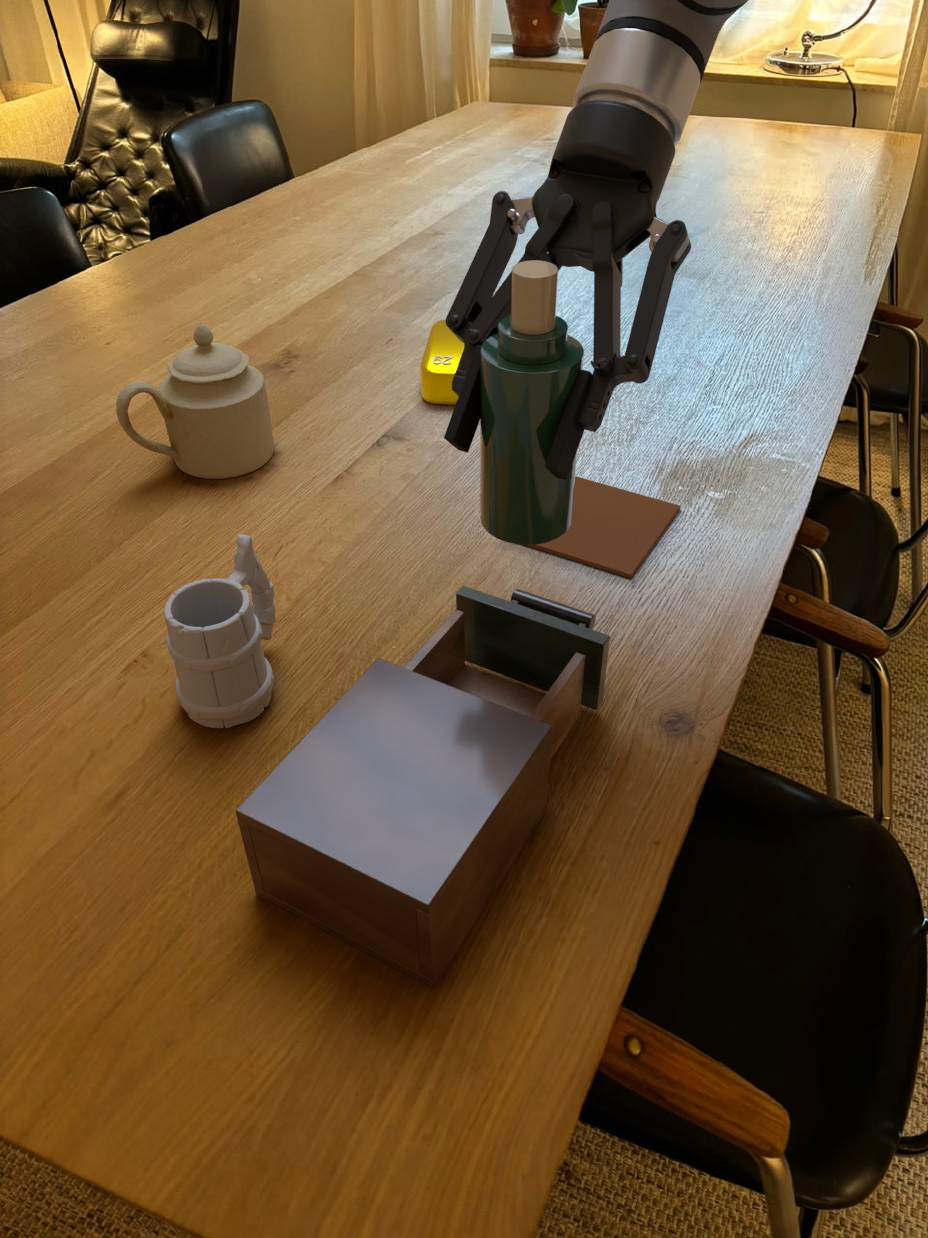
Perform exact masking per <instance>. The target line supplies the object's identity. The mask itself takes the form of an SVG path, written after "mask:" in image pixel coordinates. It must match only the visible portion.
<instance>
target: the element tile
mask: <svg viewBox="0 0 928 1238" xmlns="http://www.w3.org/2000/svg"><path fill="white" fill-rule="evenodd" d="M463 350H464V343H463V342H461V341H460V340H459V339H458V338H457V337H456V336H455V335H454V333H453V332H452V331H451V330H450V329H449V328H448V327H447V325H446V319H440V320H437V321H436V322H435V323H433V324H432V326H431V328H430V331H429V335H428V338H427V342H426V345H425V348H424V350H423V351H424V352H423V355H422V359H421V362H420V365H419V370H420V371H419V372H420V394H421V398H422V399H423V400H424V401H425V402H427V403H429V404H434V405H445V406H446V405H447V406H449V405H450V406H455V405H456V402H457V400H458V397H459V396H458V395H457V394H456V393H455V392H454V391H453V390H452V381H453V378H454V375H455V372H456V369H457V367H458V364H459V361H460V358H461V356H462V353H463Z"/></svg>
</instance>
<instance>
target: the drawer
mask: <svg viewBox="0 0 928 1238" xmlns="http://www.w3.org/2000/svg"><path fill="white" fill-rule="evenodd" d="M596 619H597V616H596V615H595V614H594V613H591V612H588V611H585V610H582V609H579V608H576V607H573V606H570V605H567V604H564V603H561V602H559V601H555V600H553V599H549V598H546V597H544V596H540V595H537V594H534V593H532V592H528V591H526V590H522V589H520V588H515V589H514V590H513V592H512V593H511V597H510V600H506V599H504V598H501V597H498V596H495V595H492V594H489V593H488V592H487V593H486V592H484V591H481V590H477V589H475V588H472V587H469V586H466V585H462V586H461V587H460V588H459V589H458V590H457V592H456V593H455V609H454V610H453V612H452V613H451V614H450V615H449V616H448V617H447V618H446V619H445V620H444V621H443V622H442V624H441V625H440V626H439V627H438V628H437V629H436V630H435V632H434V633H433V634H431V636H430V637H429V638H428V639H427V641H426V642H425V643H424V644H423V645H422V646H421V647H420V648H419V649H418V650H417V652H416V653H415V654H414V655H413V656H412V657H411V658H410V659H409V660H408V662H407V663H406V664H405V665H404V666H402V667H403V668H406V669H408V670H411V671H413V672H416V673H419V674H421V675H424V676H426V677H429V678H431V679H434V680H436V681H439V682H442V683H444V684H447V685H449V686H452V687H454V688H457V689H459V690H462V691H465V692H467V693H470V694H472V695H475V696H477V697H480V698H482V699H485V700H488V701H490V702H493V703H495V704H498V705H500V706H503V707H506V708H508V709H511V710H513V711H516V712H518V713H521V714H523V715H526V716H529V717H531V718H534V719H536V720H539V721H541V722H544V723H546V724H549V725H551V726H552V737H551V752H550V761H551V760H552V758H553V757H554V756H555V754H556V752H557V751H558V749H560V746H561V745H562V744H563V742H564V740H565V739H566V738H567V736H568V735H569V733H570V731H571V730H572V728H573V727H574V725H575V724H576V722H577V721H578V719H579V718H580V717H581V711H582V710H581V709H582V708H581V707H582V706H584V707H586V708H589V709H592V710H595V711H598V710H599V708H600V706H601V705H602V704H603V701H604V694H605V693H604V692H605V683H606V676H607V675H606V674H607V668H608V667H607V665H608V658H609V648H610V641H611V639H610V638H611V636H610V635H609V634H605V633H603V632H601V631H600V632H599V631H597V630H594V629H593V628H594V627H595V623H596ZM466 662H467V663H470V664H472V665H474V666H477V667H481V668H483V669H485V670H488V671H491V672H494V673H496V674H499V675H502V676H505V677H507V678H509V679H512V680H515V681H518V682H520V683H523V684H526V685H528V686H530V687H533V688H536V689H539V690H541V691H544V692H546V694H544V693H541V692H538V691H536V690H533V689H530V688H527V687H526V686H522V685H520V684H518V683H514V682H512V681H510V680H506V679H504V678H502V677H499V676H496V675H493V674H491V673H488V672H485V671H482V670H480V669H477V668H474V667H472V666H470V665H468V664H466Z"/></svg>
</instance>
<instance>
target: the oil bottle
mask: <svg viewBox="0 0 928 1238" xmlns="http://www.w3.org/2000/svg"><path fill="white" fill-rule="evenodd" d="M511 271H512V281H511V315H509V316H506V317H505V318H503V319H502V320H501V321H500V322H499V324H498V334H495V335H493V336H491V337H490V338H488V339H487V340H486V341H485V342H484V343H483V344H482V346H481V349H480V421H479V425H480V427H479V428H480V429H479V430H480V431H479V432H480V433H479V434H480V436H479V438H480V439H479V441H480V443H479V444H480V448H479V450H480V451H479V453H480V454H479V455H480V456H479V457H480V458H479V460H480V465H479V466H480V467H479V468H480V469H479V471H480V475H479V478H480V484H479V487H480V500H479V501H480V506H479V508H480V510H479V512H480V513H479V514H480V516H479V517H480V523H481V525H482V527H483V529H484V530H485V531H486V532H487V533H488V534H489V535H491V536H492V537H494V538H496V539H498V540H500V541H503V542H506V543H509V544H513V545H519V546H521V545H522V546H526V545H535V544H542V543H546V542H550V541H553V540H555V539H557V538H559V537H561V536H562V535H564V534H565V533H566V532H567V531H568V529H569V528H570V526H571V523H572V513H573V499H574V485H575V476H576V471H577V469H576V468H577V457H578V456H577V455H578V451H577V452H576V455H575V458H574V461H573V464H572V466H571V469H570V472H569V475H568V477H567V480H563V479H559V478H556V477H555V476H554V475H553V474H552V473H551V472H550V471H549V470H548V469H547V468H546V467H545V463H546V460H547V458H548V455H549V452H550V449H551V446H552V444H553V441H554V438H555V435H556V433H557V430H558V427H559V424H560V421H561V419H562V416H563V413H564V410H565V407H566V405H567V402H568V399H569V396H570V393H571V391H572V388H573V385H574V382H575V380H576V377H577V374H578V371H579V369H581V370H584V359H585V349H584V347H583V345H582V343H581V342H580V341H579V340H577V338H576V337H574V336H572V335H569V334H568V333H569V324H568V323H567V321H566V320H565V319H563V318H562V317H560V316H559V315H557V299H558V281H559V271H558V268H557V266H556V265H554V264H552V263H549V262H546V261H538V260H531V261H523V262H520V263H518V262H517V263H515V264H514V265H512V268H511Z"/></svg>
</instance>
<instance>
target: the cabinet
mask: <svg viewBox="0 0 928 1238" xmlns="http://www.w3.org/2000/svg"><path fill="white" fill-rule="evenodd" d="M403 667H404V666H401V665H398V664H395V663H393V662H390V661H388V660H385V659H383V658H380V657H377V658H376V659H375V660H374V661H373V663H371V665H370V666H369V667H368V668H367V669H365V670H364V672H363V673H362V674H361V675H360V676H359V677H358V678H357V679H356V680H355V681H354V682H353V684H352V685H351V686H350V687H349V688H348V689H347V690H346V691H345V693H344V694H342V695H341V697H340V698H339V699H338V700H337V701H336V702H335V703H334V704H333V705H332V706H331V707H330V708H329V710H328V711H326V713H325V714H324V715H323V716H322V717H321V718H320V719H319V720H318V721H317V723H315V724H314V725H313V726H312V727H311V729H310V730H309V731H308V732H307V733H306V734H305V735H304V737H302V738H301V740H299V742H298V743H297V744H296V745H295V746H294V747H293V748H292V749H291V750H290V751H289V752H288V754H286V756H285V757H284V758H283V759H282V760H281V761H280V762H279V763H278V764H277V765H276V766H275V767H274V769H272V770H271V772H269V774H267V776H266V777H265V778H264V779H263V780H262V782H260V784H258V785H257V786H256V787H255V789H254V790H253V791H252V792H251V793H250V794H249V795H248V796H247V797H246V798H245V799H244V800H243V801H242V802H241V804H240V805H239V806H237V808H236V809H235V815H236V819H237V825H238V827H239V832H240V836H241V839H242V844H243V847H244V851H245V855H246V860H247V862H248V867H249V871H250V876H251V879H252V884H253V887H254V892H255V894H256V896H258V897H260V898H261V899H263V900H265V901H267V902H269V903H271V904H273V905H275V906H276V907H279V908H280V909H282V910H283V911H284V910H285V912H288V913H290V914H292V915H293V916H295V917H297V918H299V919H301V920H303V921H305V922H306V923H309V924H311V925H312V926H314V927H316V928H318V929H319V930H322V931H324V932H326V933H328V934H330V935H331V936H333V937H335V938H337V939H338V940H341V941H342V942H344V943H346V944H348V945H350V946H352V947H354V948H355V949H358V950H360V951H361V952H363V953H365V954H367V955H369V956H371V957H373V958H375V959H377V960H378V961H381V962H382V963H384V964H385V965H388V966H389V967H391V968H393V969H395V970H397V971H399V972H401V973H403V974H405V975H406V976H408V977H410V978H412V979H413V980H416V981H418V982H419V983H421V984H424V985H426V986H427V987H429V988H431V989H435V987H436V986H437V984H438V983H439V982H440V979H441V978H442V976H443V974H444V973H445V971H446V970H447V969H448V967H449V966H450V964H451V962H452V960H453V959H454V957H455V955H456V954H457V953H458V951H459V950H460V948H461V946H463V943H464V942H465V940H466V938H467V937H468V935H469V934H470V932H471V930H472V929H473V927H474V926H475V924H476V923H477V922H478V920H479V918H480V917H481V915H482V913H483V912H484V910H485V908H486V907H487V905H488V904H489V902H490V901H491V899H492V898H493V896H494V894H495V893H496V891H497V890H498V888H499V886H500V885H501V883H502V882H503V880H504V878H506V875H507V874H508V873H509V871H510V869H511V868H512V866H513V864H514V863H515V862H516V860H517V858H518V857H519V855H520V853H521V852H522V850H523V849H524V847H525V845H527V842H528V840H529V839H530V838H531V836H532V834H533V833H534V831H535V830H536V829H537V826H538V825H539V824H540V822H541V820H542V819H543V817H544V816H545V814H546V813H547V810H548V795H549V781H550V780H549V779H550V767H551V766H550V764H551V763H550V762H551V760H550V752H551V737H552V726H551V725H549V724H546V723H544V722H541V721H539V720H536V719H534V718H531V717H529V716H526V715H523V714H521V713H518V712H516V711H513V710H511V709H508V708H506V707H503V706H500V705H498V704H495V703H493V702H490V701H488V700H485V699H482V698H480V697H477V696H475V695H472V694H470V693H467V692H465V691H462V690H459V689H457V688H454V687H452V686H449V685H447V684H444V683H442V682H439V681H436V680H434V679H431V678H429V677H426V676H424V675H421V674H419V673H416V672H413V671H411V670H408V669H406V668H403Z"/></svg>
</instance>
